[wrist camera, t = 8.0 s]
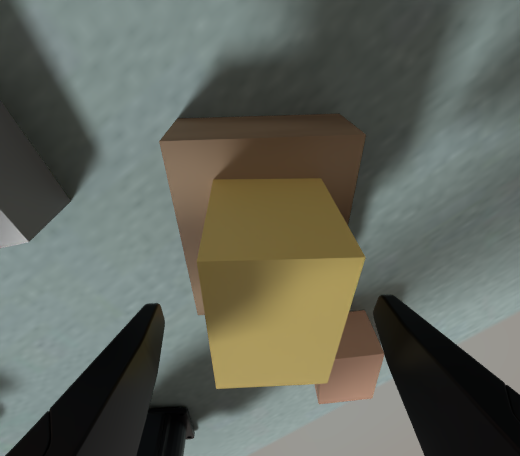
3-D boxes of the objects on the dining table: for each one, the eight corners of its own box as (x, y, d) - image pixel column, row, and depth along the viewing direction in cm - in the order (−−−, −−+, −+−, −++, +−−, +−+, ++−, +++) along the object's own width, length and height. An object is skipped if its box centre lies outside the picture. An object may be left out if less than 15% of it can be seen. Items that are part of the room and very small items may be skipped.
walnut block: (316, 263, 17) (331, 307, 15) (205, 268, 17) (198, 315, 14) (337, 111, 12) (365, 134, 9) (178, 116, 12) (159, 141, 9)
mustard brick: (304, 290, 14) (327, 383, 10) (223, 292, 14) (216, 388, 10) (321, 178, 10) (365, 257, 7) (213, 179, 10) (196, 261, 6)
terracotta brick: (356, 354, 23) (372, 398, 21) (309, 359, 24) (318, 404, 21) (363, 308, 20) (384, 353, 17) (308, 314, 20) (320, 360, 17)
